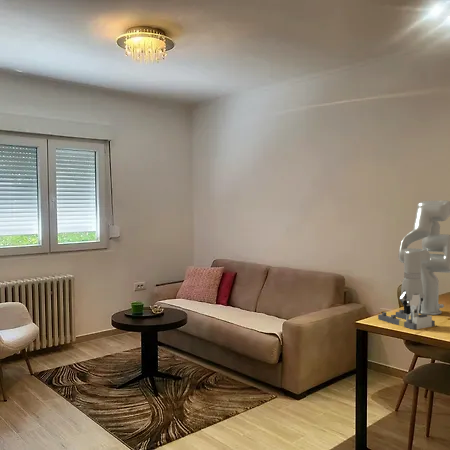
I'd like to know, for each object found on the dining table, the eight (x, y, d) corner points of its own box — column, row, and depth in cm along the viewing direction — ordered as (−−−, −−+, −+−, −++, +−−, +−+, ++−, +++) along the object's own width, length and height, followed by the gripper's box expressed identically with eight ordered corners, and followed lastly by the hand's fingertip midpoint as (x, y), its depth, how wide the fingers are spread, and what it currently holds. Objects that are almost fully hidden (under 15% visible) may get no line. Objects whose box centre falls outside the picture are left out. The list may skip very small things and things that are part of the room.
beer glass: (404, 322, 222) (404, 291, 221) (419, 323, 219) (419, 292, 218) (404, 325, 215) (404, 294, 214) (420, 326, 212) (420, 295, 212)
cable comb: (398, 316, 233) (398, 304, 233) (434, 326, 214) (434, 313, 213) (378, 319, 227) (378, 307, 227) (413, 329, 207) (413, 316, 207)
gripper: (418, 273, 223) (418, 309, 224) (393, 276, 216) (393, 313, 216) (431, 275, 217) (431, 312, 217) (405, 278, 209) (405, 316, 210)
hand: (412, 312), depth 217 cm, fingers closed on beer glass, 6 cm apart
